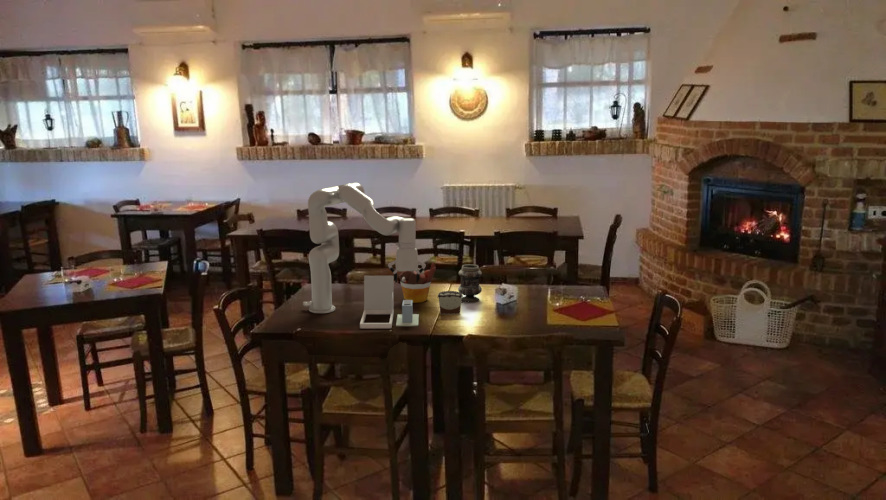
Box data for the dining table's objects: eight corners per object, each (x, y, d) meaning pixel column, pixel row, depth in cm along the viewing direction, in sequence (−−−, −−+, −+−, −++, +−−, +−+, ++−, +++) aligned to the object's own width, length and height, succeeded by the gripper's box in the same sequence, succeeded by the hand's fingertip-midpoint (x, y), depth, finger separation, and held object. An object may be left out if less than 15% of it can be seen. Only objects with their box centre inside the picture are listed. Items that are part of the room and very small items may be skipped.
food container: (462, 310, 332) (462, 290, 330) (462, 314, 326) (463, 294, 324) (436, 310, 332) (436, 290, 330) (437, 314, 326) (437, 294, 324)
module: (402, 322, 311) (402, 304, 310) (403, 316, 320) (403, 299, 319) (412, 322, 312) (412, 304, 310) (412, 316, 320) (412, 299, 319)
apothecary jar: (482, 297, 355) (482, 263, 352) (481, 303, 344) (481, 269, 340) (458, 296, 357) (459, 262, 353) (457, 302, 345) (457, 268, 341)
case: (360, 328, 305) (359, 289, 301) (365, 311, 330) (364, 275, 326) (391, 328, 305) (390, 289, 301) (394, 311, 330) (393, 275, 327)
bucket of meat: (395, 304, 342) (394, 265, 338) (400, 295, 358) (400, 258, 354) (434, 305, 340) (434, 266, 336) (438, 296, 356) (438, 259, 352)
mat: (396, 326, 308) (396, 324, 308) (397, 315, 324) (397, 314, 324) (418, 326, 308) (418, 324, 308) (418, 315, 324) (418, 314, 324)
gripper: (387, 246, 305) (387, 283, 308) (426, 247, 305) (425, 284, 309) (388, 243, 312) (388, 279, 316) (426, 244, 313) (425, 280, 316)
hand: (406, 281), depth 312 cm, fingers open, 9 cm apart
